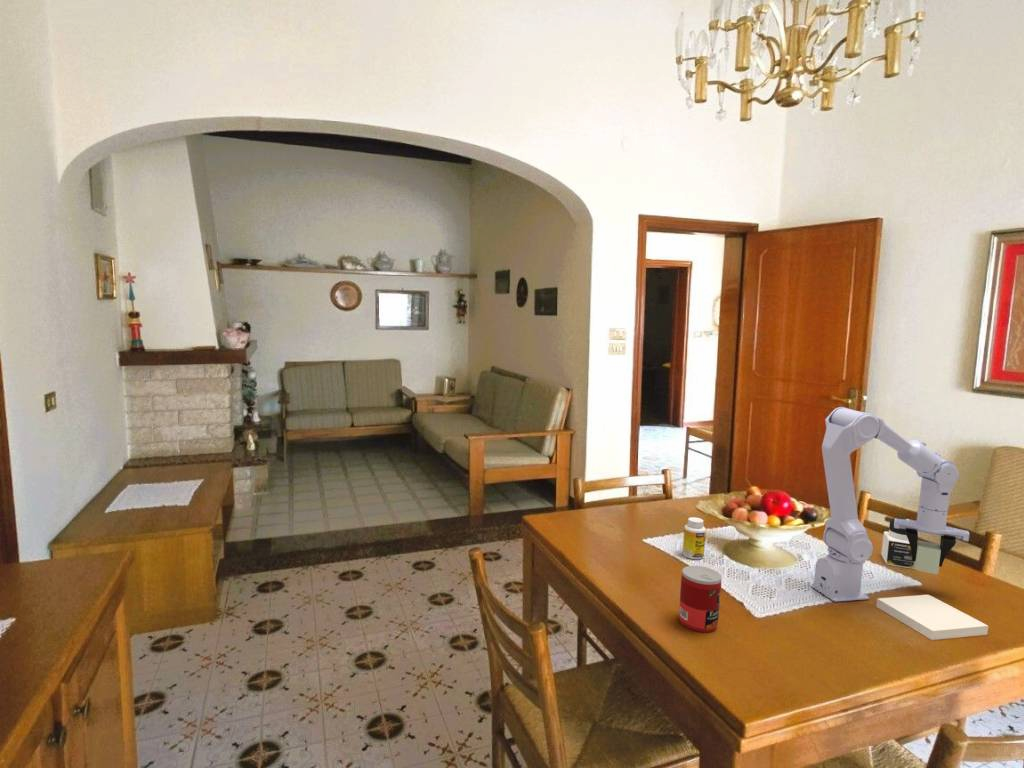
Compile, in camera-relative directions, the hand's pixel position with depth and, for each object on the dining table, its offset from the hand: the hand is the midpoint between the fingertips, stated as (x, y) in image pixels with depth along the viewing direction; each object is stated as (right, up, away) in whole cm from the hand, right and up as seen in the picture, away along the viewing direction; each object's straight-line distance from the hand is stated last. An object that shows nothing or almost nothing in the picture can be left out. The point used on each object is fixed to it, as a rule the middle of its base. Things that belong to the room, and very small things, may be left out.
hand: (926, 562), depth 141 cm
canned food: (-61, -8, -18) cm, 64 cm away
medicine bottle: (+5, -6, +18) cm, 20 cm away
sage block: (0, -2, 0) cm, 2 cm away
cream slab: (-9, -9, -13) cm, 18 cm away
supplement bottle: (-51, -4, +18) cm, 54 cm away
